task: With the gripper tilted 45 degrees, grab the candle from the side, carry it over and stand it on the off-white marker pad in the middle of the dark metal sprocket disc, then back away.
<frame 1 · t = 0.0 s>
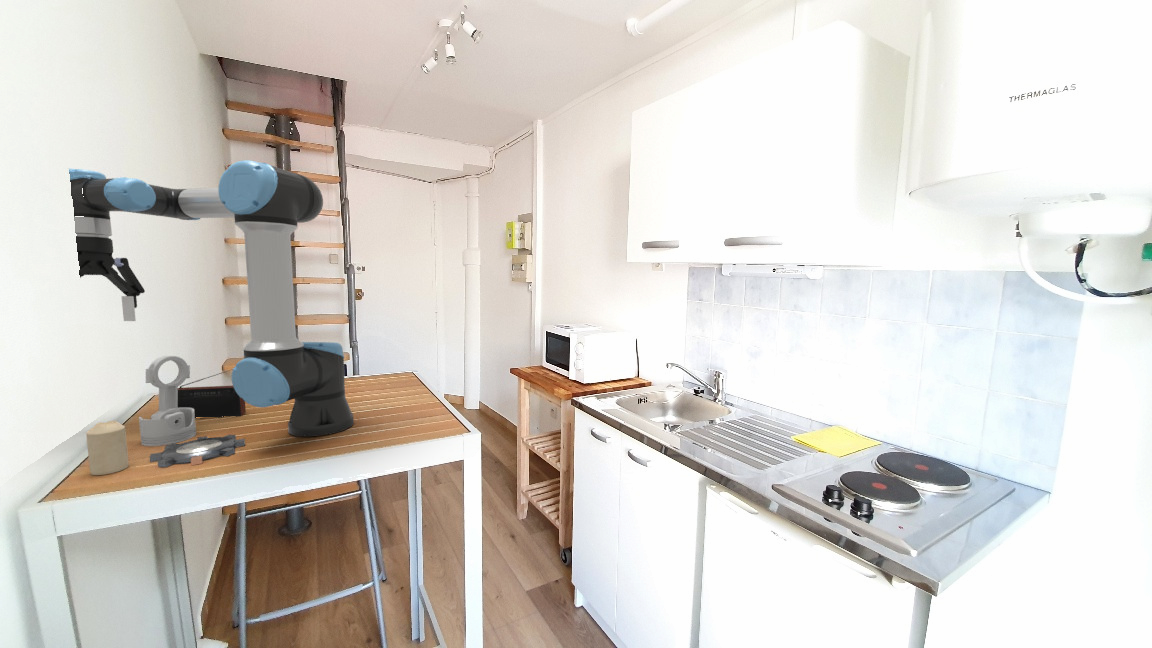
hand: (98, 323, 110), 28 cm above the table, tool pointing down, fingers open, 13 cm apart
radio: (214, 417, 127), on the table
candle: (110, 470, 92), on the table
engine component: (171, 438, 110), on the table
sprocket: (200, 452, 101), on the table
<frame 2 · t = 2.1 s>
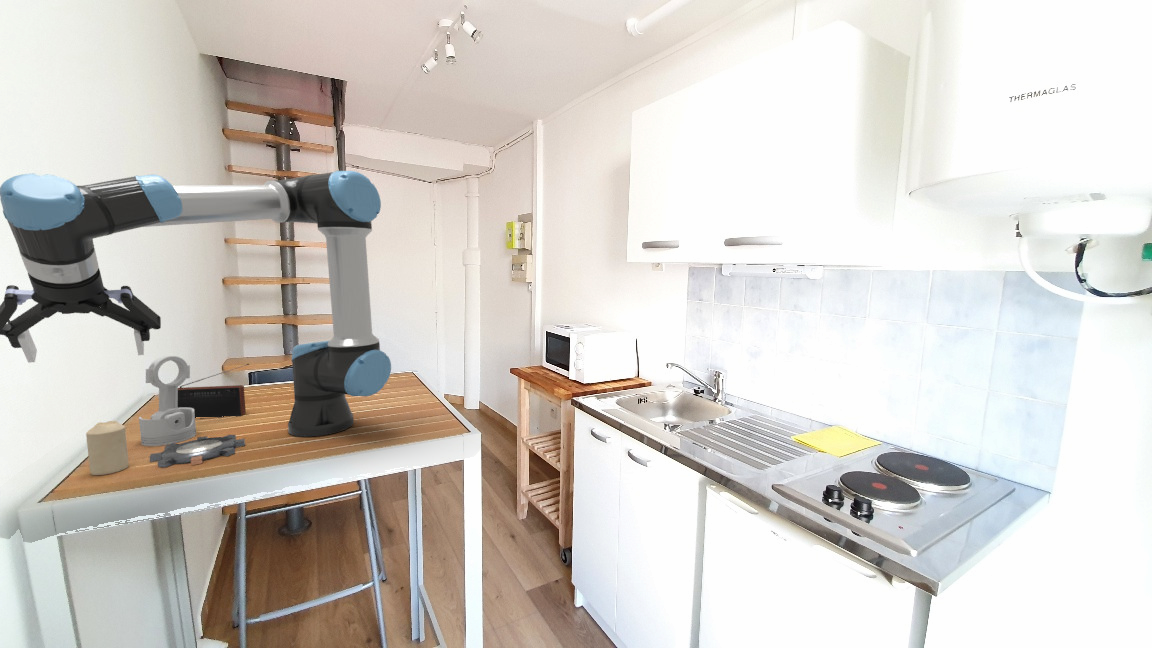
hand: (89, 352, 82), 26 cm above the table, tool tilted 45°, fingers open, 13 cm apart
nothing on the table moved.
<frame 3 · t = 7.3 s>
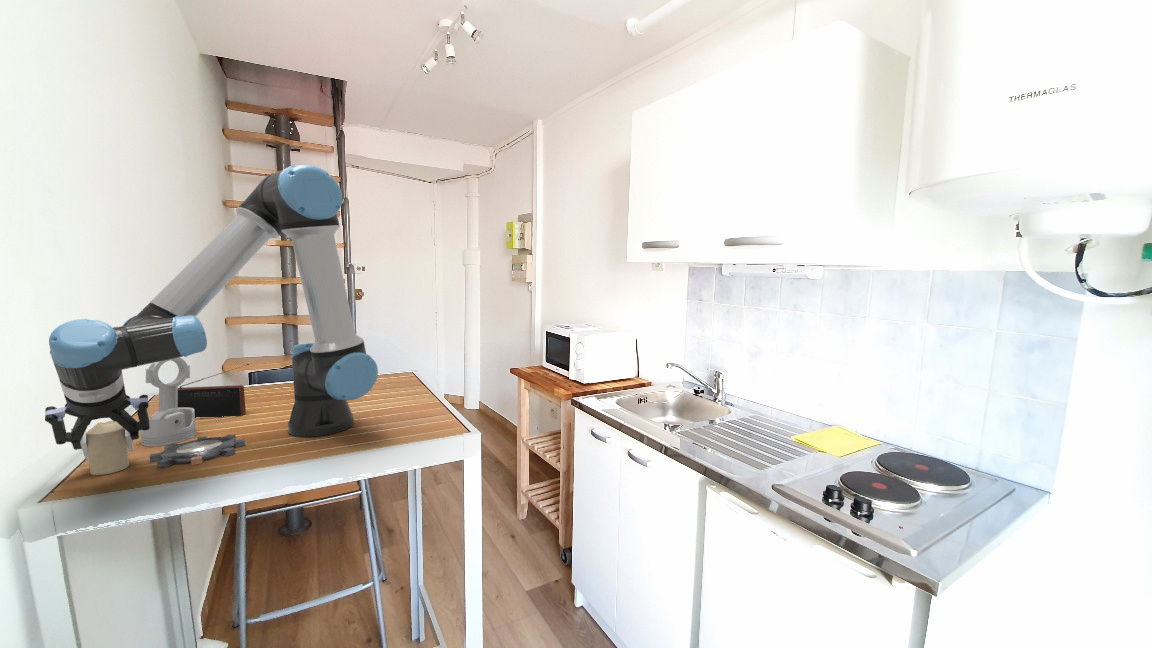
hand: (109, 449, 94), 3 cm above the table, tool tilted 45°, fingers closed on candle, 5 cm apart
candle: (110, 470, 92), on the table, touching gripper
everything else where it was.
when the fingers open (6 cm above the table, at t = 12.1 s): candle drops 1 cm, resting on sprocket.
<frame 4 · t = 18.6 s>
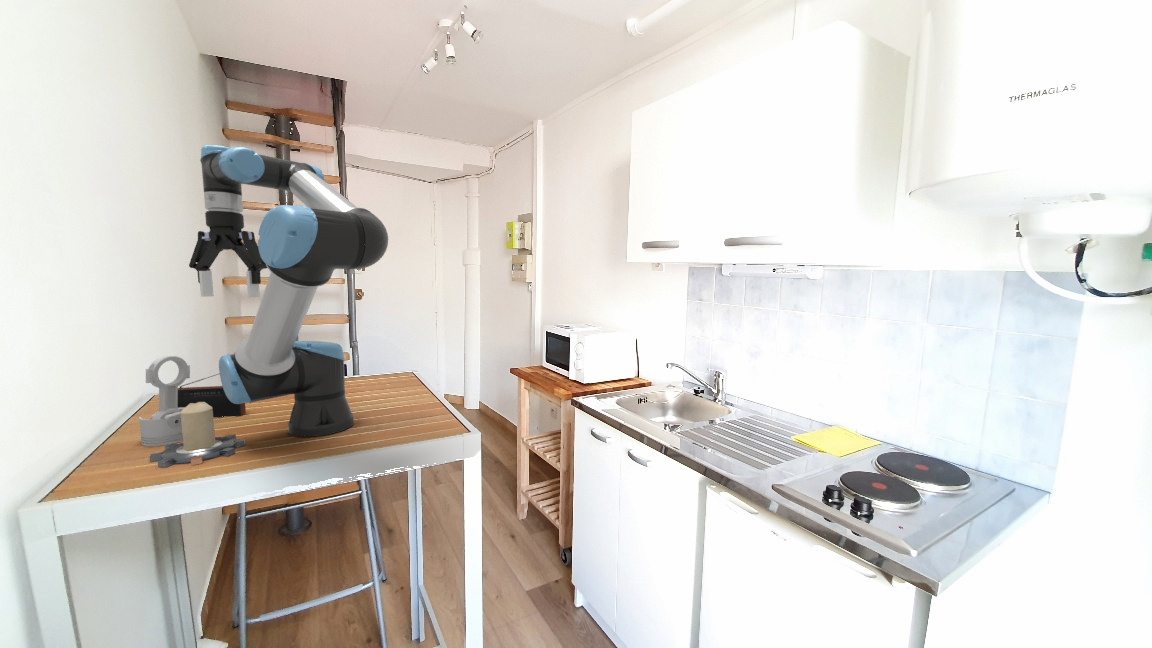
hand: (230, 297, 113), 35 cm above the table, tool pointing down, fingers open, 13 cm apart
candle: (200, 447, 101), point 1 cm above the table, touching sprocket
everything else where it was.
at the end: candle 0.1 cm off-centre on the sprocket, point 1.2 cm above the sprocket's base; candle tilted 1°; the gripper is holding nothing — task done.
